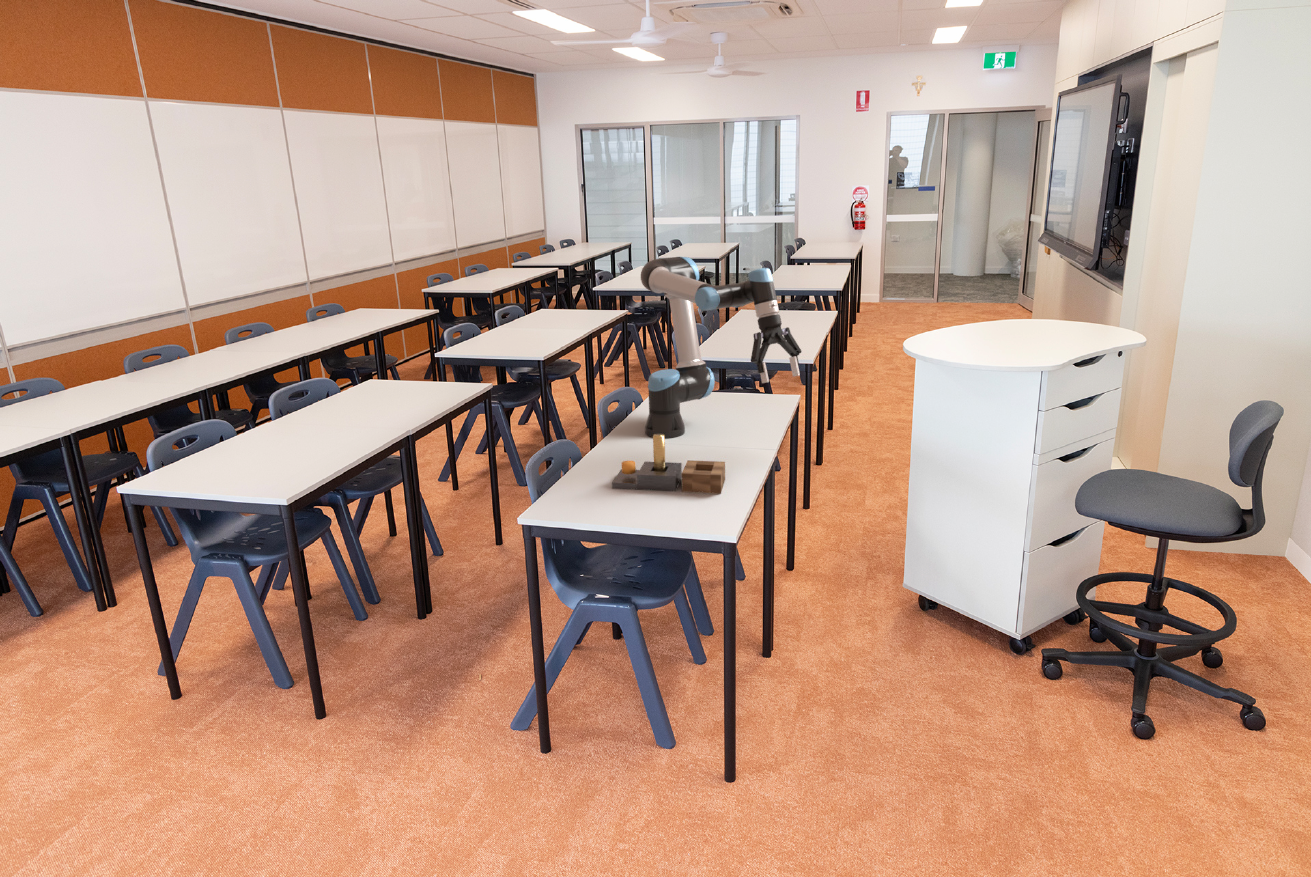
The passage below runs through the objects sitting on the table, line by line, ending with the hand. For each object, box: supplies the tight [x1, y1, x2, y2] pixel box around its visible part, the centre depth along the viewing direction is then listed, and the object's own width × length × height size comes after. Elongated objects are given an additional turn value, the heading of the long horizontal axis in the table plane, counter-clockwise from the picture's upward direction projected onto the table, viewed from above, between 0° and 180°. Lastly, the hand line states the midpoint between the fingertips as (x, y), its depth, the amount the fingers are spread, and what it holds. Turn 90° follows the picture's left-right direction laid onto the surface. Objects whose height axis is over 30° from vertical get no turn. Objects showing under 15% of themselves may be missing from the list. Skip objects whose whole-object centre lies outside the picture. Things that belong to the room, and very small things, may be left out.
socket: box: [611, 461, 683, 492], centre depth 251 cm, size 12×20×5 cm, turn 79°
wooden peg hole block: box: [681, 459, 726, 495], centre depth 247 cm, size 12×12×6 cm
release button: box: [621, 460, 637, 474], centre depth 251 cm, size 4×4×3 cm
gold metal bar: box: [652, 434, 666, 472], centre depth 249 cm, size 4×4×16 cm
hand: (781, 379), depth 262 cm, fingers open, 13 cm apart
